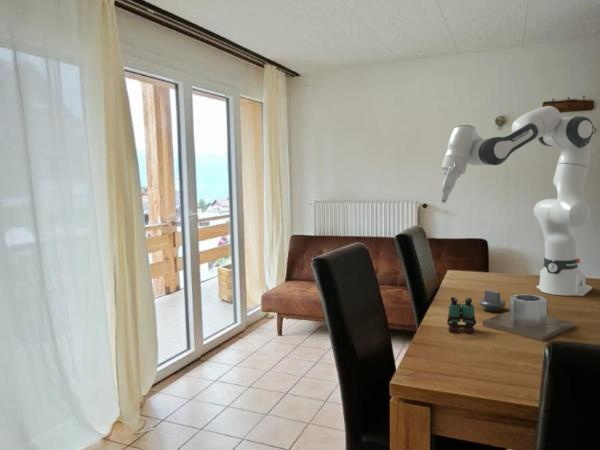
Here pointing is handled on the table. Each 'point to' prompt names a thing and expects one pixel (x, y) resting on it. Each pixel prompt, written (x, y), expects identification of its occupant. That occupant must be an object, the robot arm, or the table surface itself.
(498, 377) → the table surface
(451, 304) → the binoculars
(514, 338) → the table surface
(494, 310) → the grey dial knob
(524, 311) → the square base plate
